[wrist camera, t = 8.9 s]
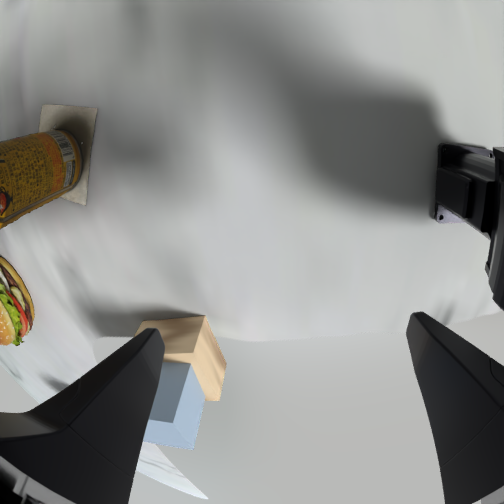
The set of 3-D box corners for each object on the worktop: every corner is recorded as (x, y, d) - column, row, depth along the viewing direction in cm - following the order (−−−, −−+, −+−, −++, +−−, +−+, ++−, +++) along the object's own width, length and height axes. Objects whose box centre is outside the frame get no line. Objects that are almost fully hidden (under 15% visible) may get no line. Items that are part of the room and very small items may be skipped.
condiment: (35, 189, 20) (-55, 239, 10) (43, 104, 17) (-62, 123, 6) (87, 205, 21) (-12, 272, 10) (100, 108, 17) (-24, 124, 6)
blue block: (190, 363, 21) (172, 423, 16) (205, 396, 23) (193, 449, 18) (139, 360, 22) (115, 412, 16) (158, 392, 24) (141, 440, 19)
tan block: (205, 314, 25) (193, 352, 21) (226, 363, 28) (219, 400, 24) (143, 319, 26) (124, 353, 22) (169, 365, 29) (157, 398, 25)
